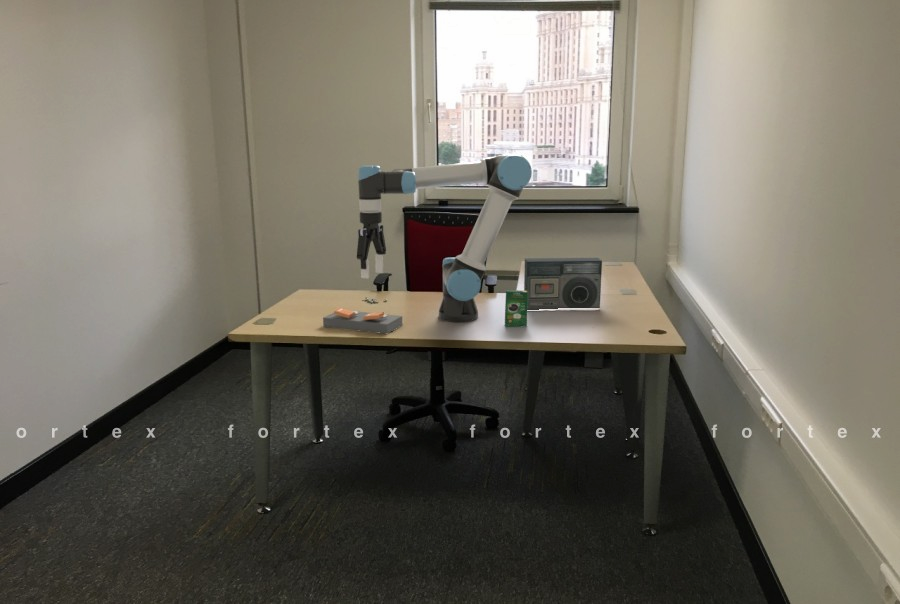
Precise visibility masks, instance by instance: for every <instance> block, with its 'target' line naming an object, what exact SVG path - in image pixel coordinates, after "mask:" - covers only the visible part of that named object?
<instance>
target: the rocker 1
mask: <svg viewBox="0 0 900 604" xmlns="http://www.w3.org/2000/svg"><path fill="white" fill-rule="evenodd" d="M353 311H354V310H350V309H346V308H342V307H340V308H338V309H335V310H334V311H333V313H334V314H336V315H340V316H343V317H346V318H350V317H352V316H354V315H355V312H353Z"/></svg>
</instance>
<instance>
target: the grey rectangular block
mask: <svg viewBox="0 0 900 604" xmlns="http://www.w3.org/2000/svg"><path fill="white" fill-rule="evenodd" d="M352 311H353V312H355V315H354V316H352V317H350V318H346V317H343V316H340V315H336V314H334V312H332V313H330V314H328V315H325V316H323V317H322V322H323V328H331V329H340V330H349V331H356V330H360V331H359V332H365V331H370V332H369V333H374V332H380V333H379V334H383V333H388V334H390V333H391V331H392V332H394V331H395V330H397V329H398V327H399V326H400V327H402V326H403V315H397V314H396V315H395V314H386V313H384V316H382V317H381V318H378V319H367V320H364V317H363V316H365V315H367V314H370V313H371V312H364V311H356V310H352ZM401 325H402V326H401ZM400 327H399V328H400ZM396 328H397V329H396ZM394 329H395V330H394ZM389 332H390V333H389Z"/></svg>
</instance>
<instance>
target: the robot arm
mask: <svg viewBox="0 0 900 604" xmlns="http://www.w3.org/2000/svg"><path fill="white" fill-rule="evenodd" d="M532 171H533V169H532V167H531V164H530V162H529V160H528V159H526V158H525V157H524V156H522V155H521V154H519V153H510V152H509V153H508V152H507V153H503V154H499V155H495V156H489V157H483V158H482V159H481V160H480V161H479V160H478V161H472V162H461V163H451V164H439V165H432V166H423V167H422V166H420V167H413V168H412V167H411V168H395V169H393V170H391V171H382V170H381V167H380V166H379V165H361V166H360V167H358V175H357V176H358V178H357V179H358V183H357V184H358V197H359V202H358V205H359V211H360V212H359V223H361V224H362V225H363V226H362V229H358V230H357V232H358V236H357V237H358V238H357V248H356V259H357V260H360V277H361V278H360V279H367V280H368V279H370V262H369V259H368V257H369V252H370V247H371V243H372V244H373V247H374V249H375V253H376V254H374V257H375V258H374V259H375V260H374V263H375V264H374V265H375V266H374V267H375V273H376V274H377V273H378V274H383V273H384V255H386V253H387V252H386V251H387V246H386V239H385V234H384V225H383V224H381V223H382V222H383V221H382V220H383V214H382V195H385V194H387V195H388V194H390V195H391V194H392V195H394V194H395V195H396V194H397V195H399V194H400V195H403V194H404V195H407V194H408V195H409V194H414V193H416V190H420V189H428V188H439V187H440V188H441V187H449V186H459V185H460V186H461V185H467V184H468V185H469V184H480V183H482V184H483V185H485V186H488V189H489V193H488V195H487V197H486V199H485V202H484V204H483V206H482V208H481V210H480V213H479V215H478V217H477V220H476V222H475V224H474V226H473V228H472V230H471V233H470V234H469V237H468V239H467V241H466V244H465V246H464V249H463V251H462V253H461V254H458V255H456V256H455V257H445V258H443V260H442V265H441V266H442V299H441V302H440V305H439V308H438V318H439V319H440V320H442V321H445V322H453V323H457V322H459V323H462V322H463V323H464V322H470V321H474V320H477V319H478V318H479V309H478V307H477V304H476V300H475V297H476V296H478V294H479V293H480V291H481V286H482V279H483V277H484V275H485V273H486V271H487V267H486V266H485V262H486V260H487V258H488V256H489V254H490V251H491V249H492V247H493V245H494V243H495V240H496V238H497V237H498V235H499V231H500V229H501V227H502V225H503V224H504V223H503V222H504V221H505V219H506V216H507V214H508V212H509V210H510V207H511V206H512V203H513V202H514V201H516V200H519V198H520V196H521V194H522V192H523V189H524V188H526V186H527V185H528V184H529V182H530V181H531V179H532V174H533V173H532Z"/></svg>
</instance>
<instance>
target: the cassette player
mask: <svg viewBox="0 0 900 604" xmlns="http://www.w3.org/2000/svg"><path fill="white" fill-rule="evenodd" d="M602 269H603V261H602V259H600V258H599V257H551V258H550V257H548V258H547V257H539V258H538V257H536V258H530V257H529V258H527V257H526V258H524V278H523V281H524V283H523V291H528V308H527V310H539V309H558V308H600V309H601V295H602V294H601V293H602V291H601V290H602V273H603V271H602Z"/></svg>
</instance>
